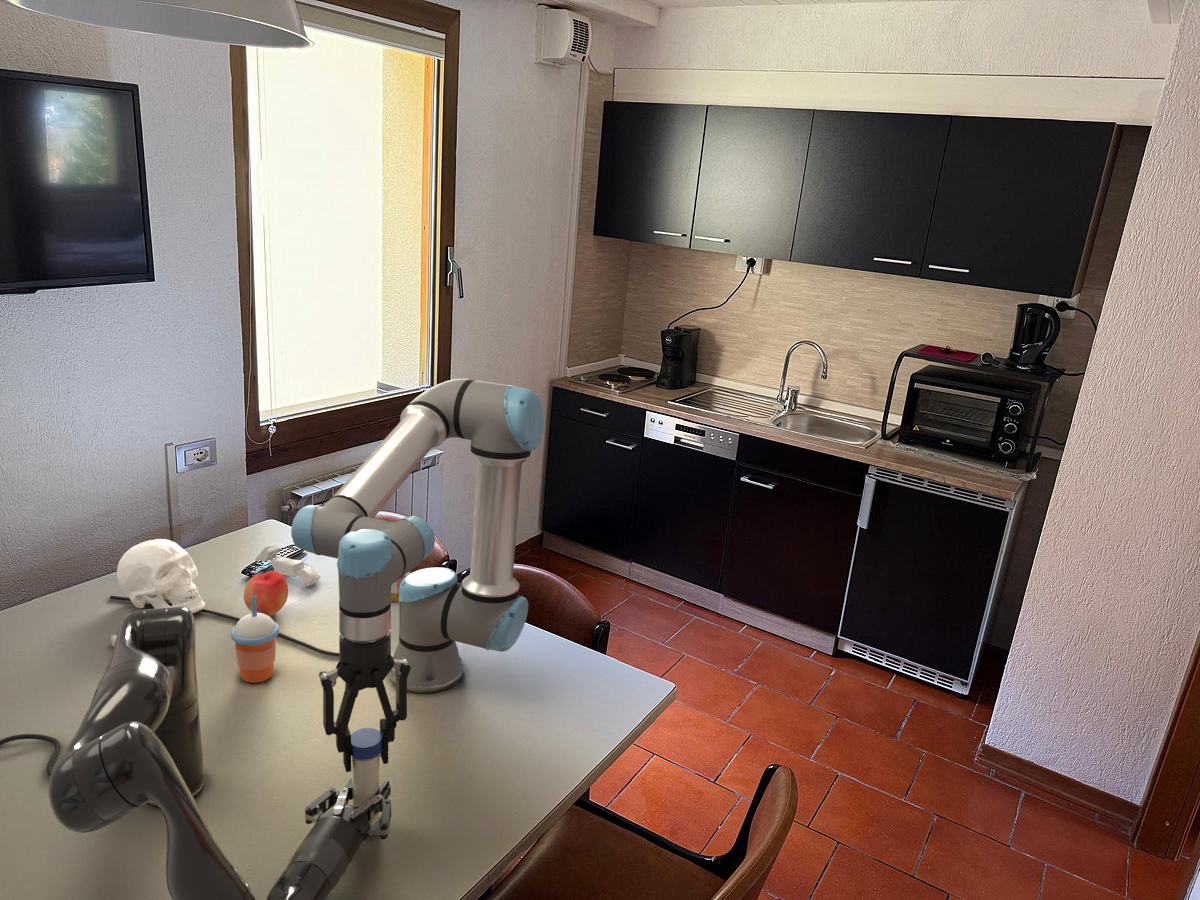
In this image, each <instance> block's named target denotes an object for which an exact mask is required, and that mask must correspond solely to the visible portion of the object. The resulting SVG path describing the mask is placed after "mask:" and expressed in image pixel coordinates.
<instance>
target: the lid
mask: <svg viewBox="0 0 1200 900" xmlns="http://www.w3.org/2000/svg"><path fill="white" fill-rule="evenodd" d="M350 734H351V758H352V757H354V758H356V759H360V760H366V759H371V758H374V757H376V756H377V755H379V754H380V753H381V751H382V734H381V732H380V730H378V729H377V728H372V727H364V728H360V729H357V730H355V731H353V732H352V733H350Z"/></svg>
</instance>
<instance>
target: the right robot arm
mask: <svg viewBox="0 0 1200 900" xmlns="http://www.w3.org/2000/svg"><path fill="white" fill-rule="evenodd" d="M400 413H401V414H400V417H399V419H400V420H399V423H397V425H396V426H395V427H393V429H392V430H391V431H390V433H388V435H387V436H386V437H385V438H384V439H383V440H382V442H381V443H380V444H379V445H378V446H377V447H376V448H375V449H374V450H373V451H372V453H370V455H369V456H368V457H367V458H366V459H365V460H364V461H363V463H361V465H360V466H359V467H358V468H357V469H356V470H355V471H354V472H353V474H351V476H349V478H348V479H347V480H346V481H345V483H343V485H342V486H341V487H340V488H338V490H337V491H336V492H335V493H334V494H333V495H332V497H331V498H330V499H329V500H328V501H327V502H326V503H325V504H324V505H323V506H321V505H319V504H318V505H317V504H316V505H313V504H308V505H306V506H302V507H301V508H300V509H299V510H298V511H297V513H296V514H295V516H294V518H293V521H292V524H291V529H290V531H291V532H290V533H291V538H292V542H293V544H294V545H295V547H296V548H298V549H299V550H302V551H305V552H308V553H311V554H315V555H316V556H324V557H328V558H332V559H337V561H336V567H337V571H338V596H339V597H338V598H339V601H338V619H339V620H338V632H339V636H338V640H339V643H338V647H339V648H338V649H339V651H338V652H333V651H329V650H324V649H322V648H318V647H315V646H314V645H311V644H308V643H307V642H304V641H301V640H299V639H296V638H294V637H291V636H288V635H286V634H283V633H281V632H279V633H278V635H277V637H280V638H281V639H284V640H287V641H289V642H292V643H294V644H296V645H300V646H302V647H304V648H307V649H309V650H311V651H314V652H316V653H319V654H322V655H326V656H330V657H339V658H338V662H337V664H336V666H335V668H334V669H332V670H330V671H326V670H321V671H319V673H318V678H319V681H320V685H321V687H322V725H323V728H324V732H325V734H326V736H331V735H335V746H336V750H337V752H338V754H340V753H342V759H343V760H342V762H343V766H344V770H345V773H350V772H352V756H351V734H352V733H351V731H350V728H349V723H350V720H351V716H352V713H353V710H354V706H355V703H356V699H357V698H358V695H359V692H360V691H363V690H366V689H375V690H376V694H377V696H378V699H379V702H380V706H381V709H382V711H383V715H384V718H380V719H379V731H380V732H381V734H382V751H381V753H380V758H381V761H382V764H383V765H387V764H389V743H392V742H395V739H396V728H397V726H398V725H397V723H398V722H400V721H406V720H407V718H408V692H410V693H416V694H430V693H431V694H432V693H438V692H441V691H445V690H447V689H450V688H451V687H453V686H455V685H456V684H457V683H458V682H459V681H460V680H461V679H462V676H463V672H464V664H463V660H462V657H461V656H460V653H459V649H458V646H457V642H458V643H461V644H465V645H469V646H473V647H478V648H481V649H485V650H486V651H495V652H500V653H503V652H507V651H509V650H510V649H511V648H513V647H514V645H515V644H516V643H517V641H518V640H519V637H520V635H521V633H522V631H523V629H524V627H525V624H526V621H527V617H528V612H529V601H528V599H527V598H526V597H524V596H523V595H520V582H519V581H518V580H517V579H516V578H515V577H514V565H515V554H516V541H517V531H518V530H517V529H518V527H517V526H518V516H519V505H520V504H519V503H520V492H521V479H522V478H521V477H522V466H523V464H524V463H525V462H526V461H527V460H528V459H530V458H531V452H532V451H535V450H536V449H538V448H539V446H540V445H541V442H542V437H543V436H542V435H543V434H544V429H545V415H544V408H543V404H542V401H541V400H540V397H539V396H538V395H537V393H536V392H535V391H534V390H532V389H529V388H526V387H525V388H524V387H521V386H517V385H515V384H505V383H500V382H490V381H485V380H484V381H483V380H475V379H473V378H464V377H463V378H453V379H450V380H446V381H444V382H440V383H438V384H436V385H434V386H432V387H430V388H428V389H427V390H425V391H424V392H422V393H421V394H419V395H418V396H416V397H415V398H414V399H413V400H412V401H410V402H409V403H408V405H407V406H406V407H405V408H404V409H403V410H402V412H400ZM452 438H457V439H458V438H459V439H463V440H468V441H470V454H471V455H472V456H473V458H475V459H476V461H477V465H476V466H477V467H476V480H475V481H476V482H475V496H474V508H473V509H474V510H473V511H474V512H473V525H472V539H471V541H472V542H471V554H470V555H471V556H470V569H469V570H470V571H469V574H468V575H467V576H466V577H464V579H462V581H461V582H458V580H459V579H458V575H457V573H456V572H455V571H454V570H453V569H450V568H448V567H427V568H421V569H418V570H416V571H415V570H414V569H415V568H416V567H418V566H420V565H421V564H422V563H423V562H424V561H425V559H427V558H428V557H429V556H430V555H431V554H432V552H433V550H434V548H435V543H436V539H435V533H434V530H433V529H432V527H431V525H430V524H429V523H428V522H427V521H426V520H424V519H423V518H421V517H419V516H414V515H410V516H405V517H404V518H400V519H397V520H396V521H389V520H386V519H381V518H380V519H379V518H375V517H376V516H377V515H378V513H379V512H380V511H381V510H382V509H383V508H384V506H385V505H386V504H388V502H389V500H390V499H391V498H392V497H393V496H394V495H395V493H396V492H397V491H398V490H399V488H400V487H401V486H402V485H403V484H404V482H405V481H406V480H407V479H408V478H409V476H410V475H411V474H412V473H413V471H414V470H415V469H416V468H417V467H418V465H419V464H420V463H421V462H422V461H423V459H424V458H425V457H426V456H427V454H429V452H430V451H431V450H432V449H433V448H438V447H440V446H442V444H444V442H445V441H446V440H447V439H452ZM410 570H411V571H412V570H414V571H413V572H411V574H409V575H407V576H406V577H405V578H404V579H403V580H402V582H401V584H400V592H399V598H398V601H397V602H398V643H397V645H396V648H395V651H394V653H393V655H392V632H391V629H392V601H391V586H392V584H393V583H394V582H396V581H397V580H398V579H400V578H401V577H402V576H404V575H405V574H406V573H408V572H409V571H410ZM109 599H110V600H116V601H124V602H132V601H131V600H130V598H129V597H128V596H127V597H125V596H117V595H110V596H109ZM166 603H167V604H168V605H169V606H173V605H172V603H171V602H166ZM175 605H176V604H175ZM198 612H199V613H203V614H207V615H208V614H209V615H214V616H217V617H221V618H225V619H228V620H232V621H235V622H238V621H239V620H240V619H241V618H240V617H236V616H234V615H233V616H232V615H230V614H226V613H222V612H219V611H214V610H210V609H206V608H203V609H202V610H200V611H198ZM388 675H389V679H390V681H391V682H392V683H393V684H394V685H395V709H394V710H393V709H392V705H391V702H390V699H389V696H388V693H387V689H386V686H385V684H384V681H385V679H386V677H387V676H388ZM338 678H340V679H341V680H342V681H343V682H344V683H345V684H344V687H345V688H344V692H343V694H342V699H341V702H340V706H339V709H338V714H337V716H336V720H335V691H334V687H336V685H337V679H338Z"/></svg>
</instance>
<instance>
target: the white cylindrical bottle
mask: <svg viewBox="0 0 1200 900" xmlns="http://www.w3.org/2000/svg"><path fill="white" fill-rule="evenodd" d="M380 758H381V756H380V754H379V755H377V756H376V757H374V758H371V759H366V760H360V759H356V758H354V757H352V756H351V778H352V800H351V801H352V806H353V807H360V806H361V805H362V804H363V803H364V802H365V801H370V800H371V799H372V798H373V797H374V796H376V792H377V791H378V789H379V788H380V760H381V759H380ZM378 818H380V813H379V814H377V815H376V816H375V817H374V820H373V821H372V822H371V823H370V826H372V825H374V824H375V823H376V821H378ZM370 836H372V835H370ZM370 836H369V837H370Z"/></svg>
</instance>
